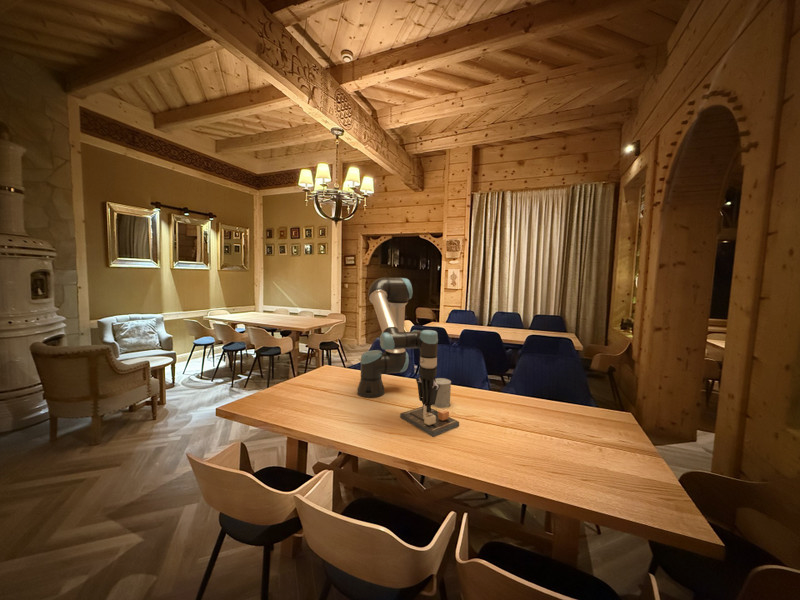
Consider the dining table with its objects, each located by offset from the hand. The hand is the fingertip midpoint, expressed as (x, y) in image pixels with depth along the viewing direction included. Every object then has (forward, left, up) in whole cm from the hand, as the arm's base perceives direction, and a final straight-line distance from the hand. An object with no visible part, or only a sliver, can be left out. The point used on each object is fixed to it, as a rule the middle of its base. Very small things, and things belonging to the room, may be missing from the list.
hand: (426, 418), depth 142 cm
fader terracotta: (+3, +8, -1) cm, 8 cm away
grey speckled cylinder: (-13, +23, -4) cm, 27 cm away
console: (-2, +4, -4) cm, 6 cm away
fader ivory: (+2, 0, -1) cm, 2 cm away
